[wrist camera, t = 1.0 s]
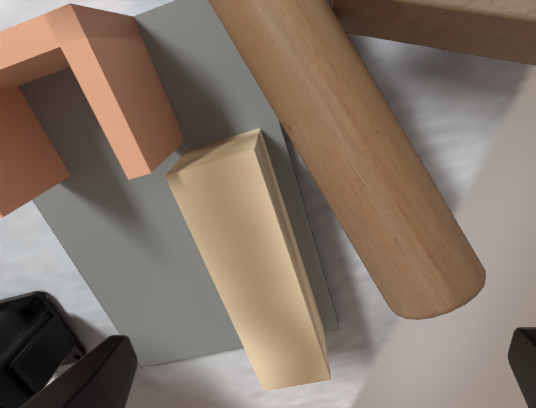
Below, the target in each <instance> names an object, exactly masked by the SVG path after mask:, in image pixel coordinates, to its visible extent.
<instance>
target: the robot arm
mask: <svg viewBox="0 0 536 408" xmlns="http://www.w3.org/2000/svg"><path fill="white" fill-rule="evenodd" d="M508 360H509V364H510V366H511V369H512V371H513V373H514V376H515V378H516V380H517V383H518V385H519V387H520V389H521V392H522V394H523V396H524V399H525V401H526V403H527V405H528V408H536V327H519V328H517V329H516V330H515V331H514V333H513V337H512V341H511V344H510V348H509V352H508ZM137 362H138V360H137V355H136V353H135V351H134V348H133V346H132V343H131V341H130V339H129V337H128V336H127V335H112V336H110V337H108V338H107V339H105V340H104V341H103V342H102V343H100V344H99V345H98V346H97V347H95V348H94V349H93V350H92V351H90V352H89V353H88V354H87V352H86V351H85V349H84V348H83V346H82V345H81V344H80V342H79V341H78V340H77V338H76V337H75V335H74V334H73V333H72V331H71V330H70V329H69V327H68V326H67V325H66V323H65V322H64V320H63V319H62V318H61V316H60V315H59V314H58V312H57V311H56V309H55V308H54V307H53V305H52V304H51V303H50V301H49V300H48V298H47V297H46V296H45V295H44V294H43V293H42V292H39V291H35V292H31V293H27V294H23V295H19V296H15V297H11V298H7V299H3V300H0V408H125V406H126V403H127V400H128V396H129V393H130V389H131V386H132V382H133V379H134V376H135V372H136V369H137ZM71 363H75V364H74V365H73V366H71V367H70V368H69V369H68V370H66V371H65V372H64V373H63V374H61V375H60V376H59V377H58V378H56V379H55V380H54V381H53V382H51V383H50V384H49V385H48V386H46V385H47V384H48V383H49V381H50V380H51V378H52V377H53V375H54V374H55V373H56V371H57V370H58V368H59V367H60V366H61V365H66V364H71Z"/></svg>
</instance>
